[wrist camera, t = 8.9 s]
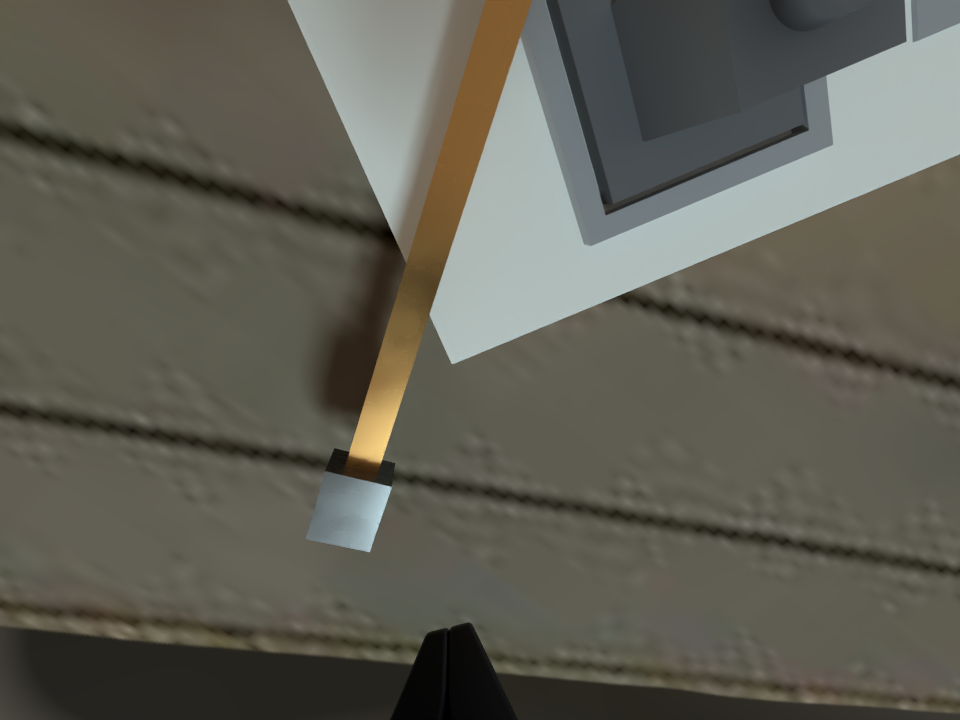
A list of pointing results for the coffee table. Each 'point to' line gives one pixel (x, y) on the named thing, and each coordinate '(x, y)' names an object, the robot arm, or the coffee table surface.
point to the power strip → (568, 169)
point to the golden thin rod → (418, 288)
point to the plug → (702, 75)
